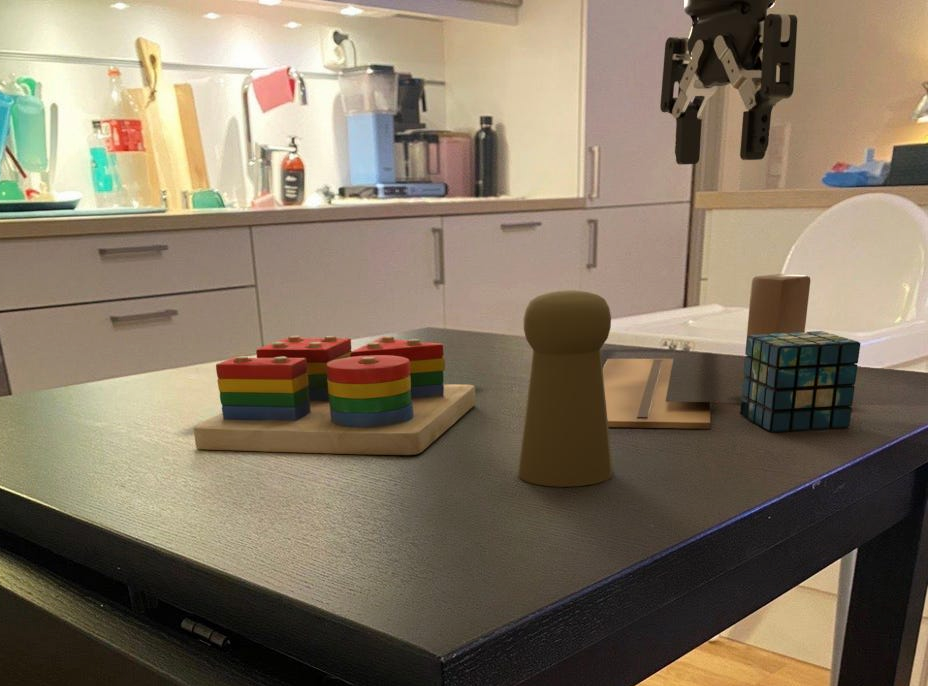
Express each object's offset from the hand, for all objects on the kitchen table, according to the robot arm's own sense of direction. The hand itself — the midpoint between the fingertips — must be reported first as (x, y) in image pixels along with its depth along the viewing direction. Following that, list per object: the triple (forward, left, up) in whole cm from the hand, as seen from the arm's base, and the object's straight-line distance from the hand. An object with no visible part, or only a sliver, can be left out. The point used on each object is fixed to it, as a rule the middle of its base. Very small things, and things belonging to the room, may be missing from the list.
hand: (718, 162), depth 87 cm
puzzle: (-7, +23, -18) cm, 30 cm away
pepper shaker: (+8, +39, -18) cm, 44 cm away
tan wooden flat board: (+4, +12, -18) cm, 22 cm away
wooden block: (-7, -3, -18) cm, 20 cm away
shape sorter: (+27, +27, -18) cm, 43 cm away
